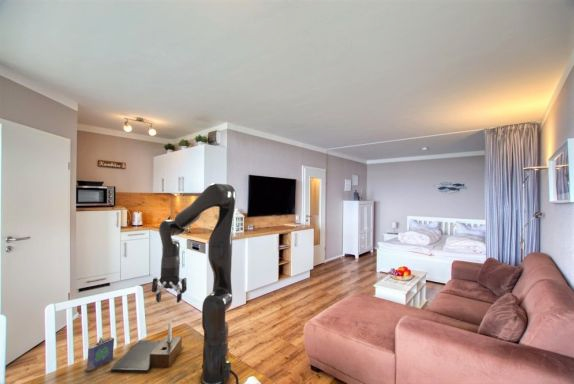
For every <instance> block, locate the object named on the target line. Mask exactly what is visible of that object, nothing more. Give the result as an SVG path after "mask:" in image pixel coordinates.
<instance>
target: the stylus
mask: <svg viewBox="0 0 574 384" xmlns="http://www.w3.org/2000/svg"><path fill="white" fill-rule="evenodd" d="M167 325H168V326H167V337H168V343H171V337H172V330H173V323H172V322H168V324H167Z"/></svg>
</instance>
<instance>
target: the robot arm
mask: <svg viewBox="0 0 574 384" xmlns="http://www.w3.org/2000/svg"><path fill="white" fill-rule="evenodd" d="M236 200H237V193H236V189H235V188H234V187H233V185H231V184H228V183H211V184H209V185H207V187H206V188H205V189H204V190H203V191H202V192H201V193H200V194H199V195H198V196H197V197H196V199H194V201H193V202H192V203H191V204H190V205H188V206H187V207H185V208H184V209H183V210H181V211H180V212H179V213H177V214H176V216H174V219H165V220H162V221H161V222H160V223H159V227H158V233H159V237H160V242H161V245H162V247H161V248H162V252H161V259H160V277H158V276H155V277H153V279H152V284H151V293H155V301H156V303H160V302H161V301H162V291H163V289H166V290H167V289H168V290H169V289H170V290H174V291H175V292H176V293H177V294H176V303H177V304H179V303H180V302H181V301H182V298H183V294H185V292H187V288H188V287H187V278H186V277H184V278H180V266H181V256H180V253H181V251H180V248H181V243H180V242H179V240H174V239H173V238H172V237H174V236H175V237H176V236H181V235H182V234H183V233H185V232H186V231H187V229H189V227H190V226H192V225H193V224H195V223H196V222H197V221H199V220H200V218H201V216H202V214H203V213H204V212H205V211H207V210H209V209H212V208H218V216H217V220H216V223H215V226H214V227H213V229H212V231H211V234H210V235H209V238H208V242H207V243H208V246H207V258H208V263H209V266H210V268H211V271H212V275H213V283H212V291H211V292H210V293H209V294H208V295H207V296H206V297H205V298H204V300H203V302H202V305H201V306H202V307H201V326H202V330H203V343H202V344H203V345H202V364H201V370H202V371H201V382H202V384H225V383H226V381H227V379H229V378H230V375H232V376H233V377H234V379H235V384H240V382H239V376H238V375H237V374H236V372H235V371H234V370H232V362H229V356H230V355H229V354H230V349H229V329H230V328H229V323H228V322H227V321H226V312H227V311H229V309H230V308H231V306H232V303H233V287H232V265H233V264H232V263H233V262H232V259H233V231H234V229H233V228H234V215H235V207H236ZM158 283H160V285H159V284H158ZM180 284H181V285H180ZM158 285H159V287H158Z"/></svg>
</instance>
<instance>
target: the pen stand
mask: <svg viewBox="0 0 574 384" xmlns="http://www.w3.org/2000/svg"><path fill="white" fill-rule="evenodd" d="M159 341H160V343H159V344H158V345H157V346H156V347H155V349H154V350H153V351H152V352H151V353H150V359H149V364H152V367H154V368H157V367H158V368H161V367H162V368H170V366H171V364H172V363H173V362H174V360H175V358H176V357H177V355H178V354H179V352H180V351H181V350H182V345H183V344H182V342H183V337H182V336H171V343H168V336H163V338H161V340H159ZM152 367H151V368H152Z"/></svg>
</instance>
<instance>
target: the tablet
mask: <svg viewBox="0 0 574 384" xmlns="http://www.w3.org/2000/svg"><path fill="white" fill-rule="evenodd" d="M160 341H161V340H144V339H143V340H138V341H137V343H136V344H134V346H132V347H131V348H130V349H129V351H128V352H126V353H125V354H124V356H123V357H122V358H121V359H120V360H119V361H118V362H116V364H115V365H114V366H113V367H112V368H111V369H110V372H111V373H148V372H149V371H150V369H152V364H149V359H150V353H151V352H152V351H153V350H154V349H155V347H156V346H157V345H158V344H159V343H160Z"/></svg>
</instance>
